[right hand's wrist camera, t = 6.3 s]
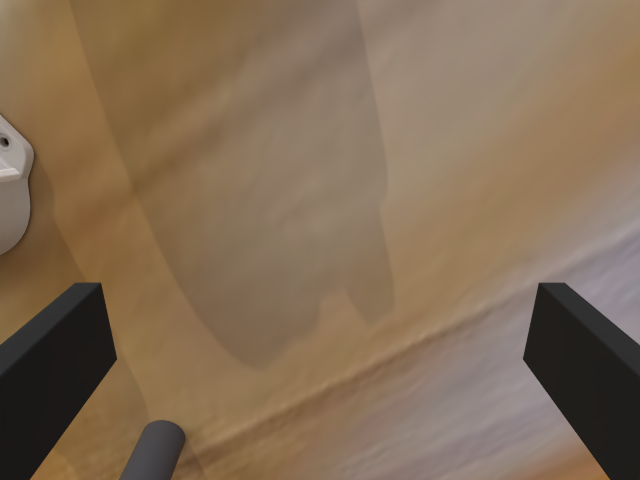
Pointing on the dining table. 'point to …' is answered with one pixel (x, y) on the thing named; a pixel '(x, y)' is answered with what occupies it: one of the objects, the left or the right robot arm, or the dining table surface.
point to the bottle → (155, 452)
